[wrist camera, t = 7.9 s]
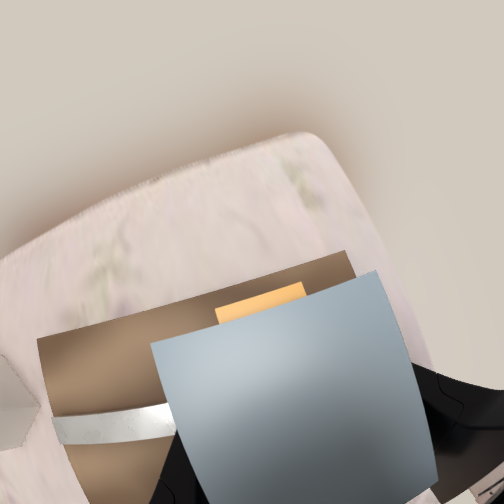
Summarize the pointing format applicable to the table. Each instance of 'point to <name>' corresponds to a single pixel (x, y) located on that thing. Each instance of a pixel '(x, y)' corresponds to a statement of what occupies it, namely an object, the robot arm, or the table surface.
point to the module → (301, 400)
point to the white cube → (14, 408)
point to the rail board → (139, 383)
